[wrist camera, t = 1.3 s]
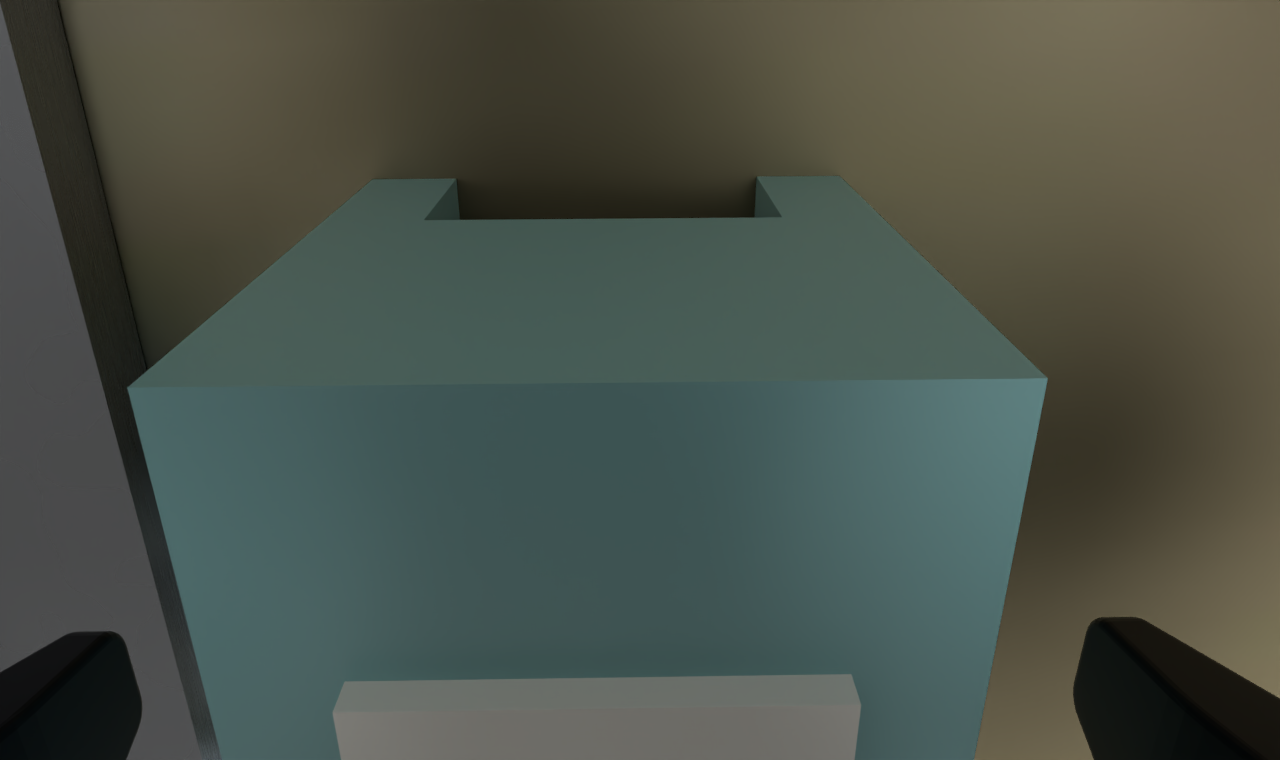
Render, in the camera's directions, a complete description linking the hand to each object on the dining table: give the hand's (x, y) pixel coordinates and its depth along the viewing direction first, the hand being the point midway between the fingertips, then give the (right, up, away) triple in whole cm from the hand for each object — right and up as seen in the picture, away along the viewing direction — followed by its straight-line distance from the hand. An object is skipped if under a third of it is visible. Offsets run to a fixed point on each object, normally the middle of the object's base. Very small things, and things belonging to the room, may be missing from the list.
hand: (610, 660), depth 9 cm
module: (0, +2, +4) cm, 4 cm away
